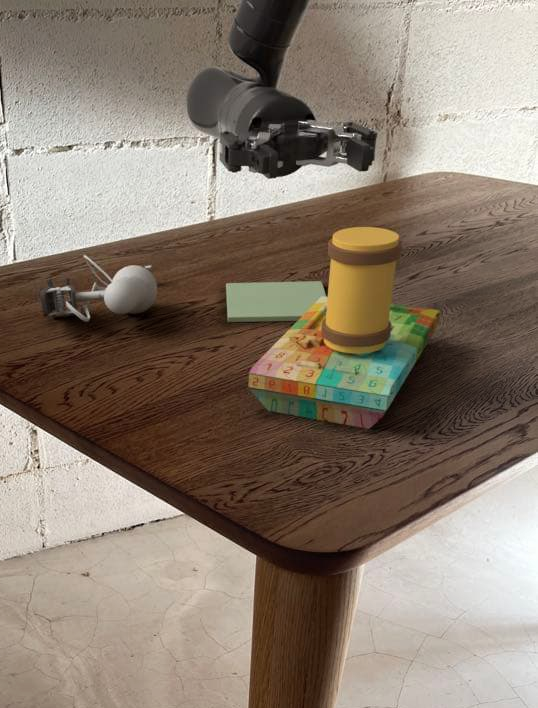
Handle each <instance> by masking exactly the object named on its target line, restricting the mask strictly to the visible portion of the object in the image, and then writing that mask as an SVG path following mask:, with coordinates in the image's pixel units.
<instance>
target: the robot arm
mask: <svg viewBox="0 0 538 708" xmlns="http://www.w3.org/2000/svg"><path fill="white" fill-rule="evenodd" d="M311 1H312V0H240V2H239V4H238V7H237V8H236V12H235V14H234V17H233V18H232V22H231V24H230V27H229V29H228V33H227V45H228V48H229V50H230V51H231V53H232V54H233V55H234V57H236V58H237V59H238V60H240V61H241V62H243V63H244V64H245V65H247V66H248V67H250V68H251V69H253V70H254V71H255V74H254V76H250V75H247V74H244V73H240V72H238V71H234V70H230V69H228V68H224V67H221V66H217V65H211V66H207V67H205V68H203V69H200V70H199V72H197V73H196V74H195V76H194V77H193V79H192V80H191V82H190V84H189V85H188V87H187V92H186V97H185V110H186V111H185V112H186V115H187V118H188V122H189V123H190V124H191V126H192V127H193V129H195V130H196V131H199V132H201V133H203V134H205V135H208V136H210V137H213V138H216V139H219V155H218V156H219V157H218V158H219V162H220V163H221V164H222V165H223V166H224V168H225V169H226V170H227V171H228V172H231V173H232V174H233V173H234V174H235V173H238V172H241V171H242V167H248V172H250V173H253V174H261V175H263V176H264V177H265V178H266V179H268V180H271V179H277V178H282V177H286V176H289V175H292V174H293V173H296V172H297V171H298V170H300V169H301V168H302V167H306V166H309V165H314V166H321V167H329V168H331V167H333V166H336V165H338V164H346V165H347V166H349V167H351V168H352V169H354V170H356V171H357V172H359V173H360V172H361V173H362V172H368V171H369V168H370V167H372V166H373V162H374V161H375V159H376V146H377V145H376V144H377V139H378V131H375V130H373V129H370V128H367V127H365V126H362V125H360V124H358V123H355V122H353V121H348V122H345V123H343V127H341V126H340V125H332V124H322V123H318V121H317V119H316V117H315V114H314V112H313V110H312V109H311V108H310V106H309V105H308V104H307V103H306V102H304V101H303V100H302V99H300V98H298V97H295V96H294V95H291V94H290V93H288V92H285V91H283V90H281V89H280V88H279V86H280V80H281V77H282V72H283V70H284V65H285V61H286V58H287V55H288V52H289V50H290V48H291V47H292V44H293V41H294V40H295V37H296V35H297V33H298V30H299V28H300V27H301V24H302V22H303V20H304V18H305V15H306V14H307V11H308V9H309V6H310V4H311ZM325 153H326V156H322V155H324V154H325Z"/></svg>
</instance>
